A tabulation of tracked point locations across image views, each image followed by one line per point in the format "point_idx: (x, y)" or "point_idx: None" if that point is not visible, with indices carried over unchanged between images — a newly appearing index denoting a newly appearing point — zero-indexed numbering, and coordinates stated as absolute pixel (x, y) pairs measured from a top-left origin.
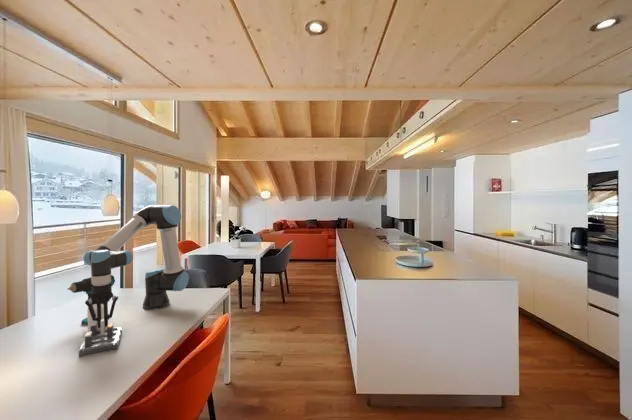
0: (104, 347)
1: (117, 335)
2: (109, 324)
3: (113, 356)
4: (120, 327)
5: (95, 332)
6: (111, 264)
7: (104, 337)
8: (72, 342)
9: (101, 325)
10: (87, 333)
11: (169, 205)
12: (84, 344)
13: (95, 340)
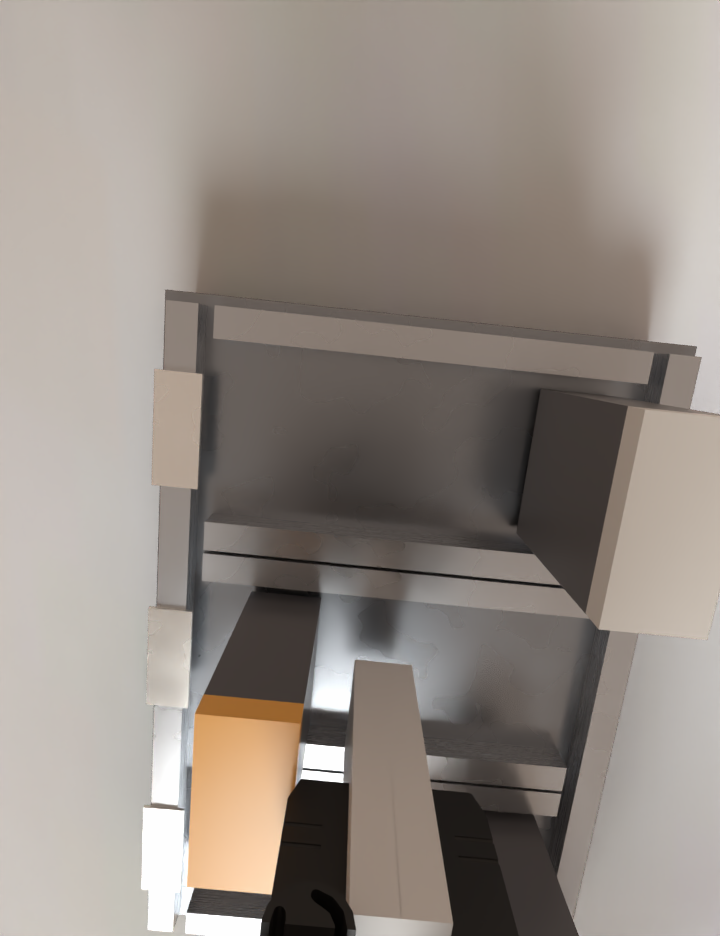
0: (353, 310)
1: (175, 601)
2: (255, 856)
3: (238, 67)
4: (155, 902)
5: None
6: None
7: None
8: (693, 862)
9: (413, 807)
10: (698, 551)
11: None
12: None
13: (480, 586)
